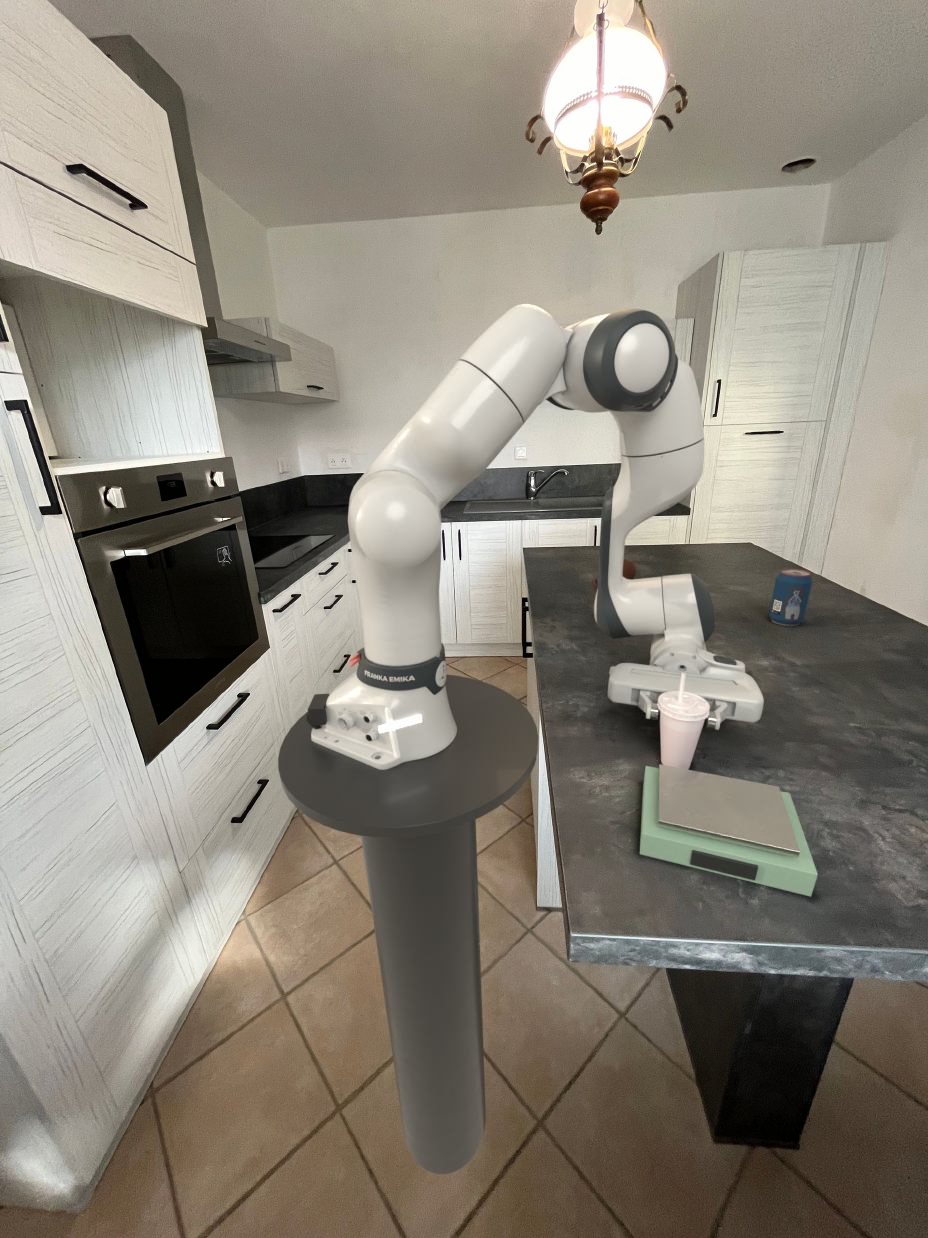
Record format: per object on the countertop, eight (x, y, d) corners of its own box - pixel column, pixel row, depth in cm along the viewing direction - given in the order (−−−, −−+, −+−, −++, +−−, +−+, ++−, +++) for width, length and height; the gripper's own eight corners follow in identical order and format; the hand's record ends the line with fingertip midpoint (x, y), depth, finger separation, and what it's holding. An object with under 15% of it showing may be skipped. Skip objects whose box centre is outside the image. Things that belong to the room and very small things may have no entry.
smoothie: (641, 752, 70) (651, 665, 65) (681, 745, 71) (693, 659, 66) (668, 781, 64) (680, 687, 59) (711, 773, 65) (727, 680, 60)
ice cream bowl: (610, 608, 126) (615, 551, 121) (646, 621, 117) (652, 560, 112) (580, 617, 121) (583, 558, 116) (615, 631, 112) (620, 567, 107)
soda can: (783, 614, 118) (794, 566, 113) (810, 624, 111) (822, 574, 107) (760, 618, 116) (770, 569, 112) (785, 628, 110) (797, 577, 105)
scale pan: (657, 826, 52) (658, 820, 52) (658, 769, 61) (659, 764, 61) (798, 858, 48) (800, 852, 48) (777, 792, 57) (779, 786, 56)
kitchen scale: (639, 856, 53) (642, 835, 52) (643, 784, 64) (645, 765, 63) (812, 900, 48) (819, 877, 47) (784, 812, 58) (789, 792, 57)
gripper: (612, 647, 79) (603, 687, 67) (756, 663, 72) (775, 711, 60) (609, 681, 81) (600, 726, 69) (748, 700, 74) (765, 754, 62)
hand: (682, 719), depth 64 cm, fingers closed on smoothie, 6 cm apart
